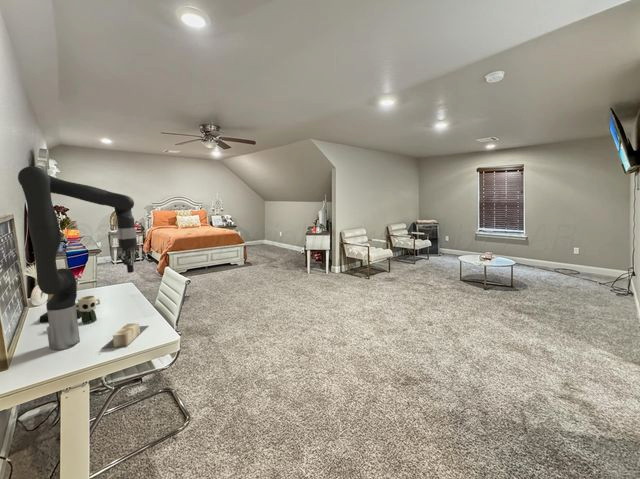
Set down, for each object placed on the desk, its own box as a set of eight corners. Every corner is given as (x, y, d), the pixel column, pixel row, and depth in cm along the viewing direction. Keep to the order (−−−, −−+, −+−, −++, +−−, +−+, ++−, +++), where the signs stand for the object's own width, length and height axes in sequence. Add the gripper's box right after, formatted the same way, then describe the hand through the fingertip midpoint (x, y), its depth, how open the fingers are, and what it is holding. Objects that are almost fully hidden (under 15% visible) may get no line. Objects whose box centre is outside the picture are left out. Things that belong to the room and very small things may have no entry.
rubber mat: (100, 351, 123) (100, 349, 123) (127, 328, 144) (127, 327, 144) (126, 349, 124) (126, 347, 124) (149, 327, 146) (149, 325, 146)
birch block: (128, 334, 136) (114, 346, 125) (127, 323, 136) (112, 335, 124) (140, 333, 137) (126, 345, 125) (139, 323, 136) (125, 334, 125)
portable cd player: (56, 312, 168) (55, 305, 167) (92, 309, 173) (91, 302, 172) (39, 324, 152) (38, 316, 152) (79, 319, 157) (78, 312, 157)
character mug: (77, 327, 147) (74, 301, 145) (74, 323, 151) (71, 299, 149) (104, 320, 155) (101, 296, 153) (99, 317, 160) (97, 293, 158)
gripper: (126, 235, 149) (129, 269, 151) (111, 239, 136) (115, 276, 138) (141, 235, 150) (144, 269, 152) (128, 238, 137) (132, 275, 139)
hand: (130, 272), depth 145 cm, fingers closed
